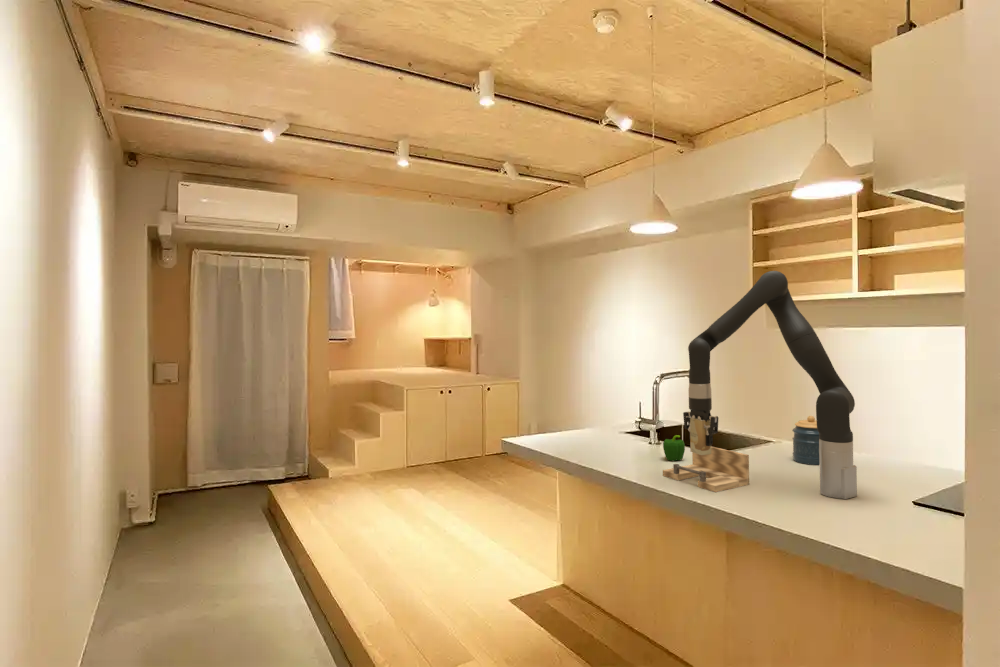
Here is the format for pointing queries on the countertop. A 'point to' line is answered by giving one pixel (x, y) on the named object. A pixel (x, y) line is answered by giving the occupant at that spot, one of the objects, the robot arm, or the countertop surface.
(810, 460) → the canister
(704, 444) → the skincare box
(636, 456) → the countertop surface
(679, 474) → the wooden stand with handle
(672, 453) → the bell pepper
